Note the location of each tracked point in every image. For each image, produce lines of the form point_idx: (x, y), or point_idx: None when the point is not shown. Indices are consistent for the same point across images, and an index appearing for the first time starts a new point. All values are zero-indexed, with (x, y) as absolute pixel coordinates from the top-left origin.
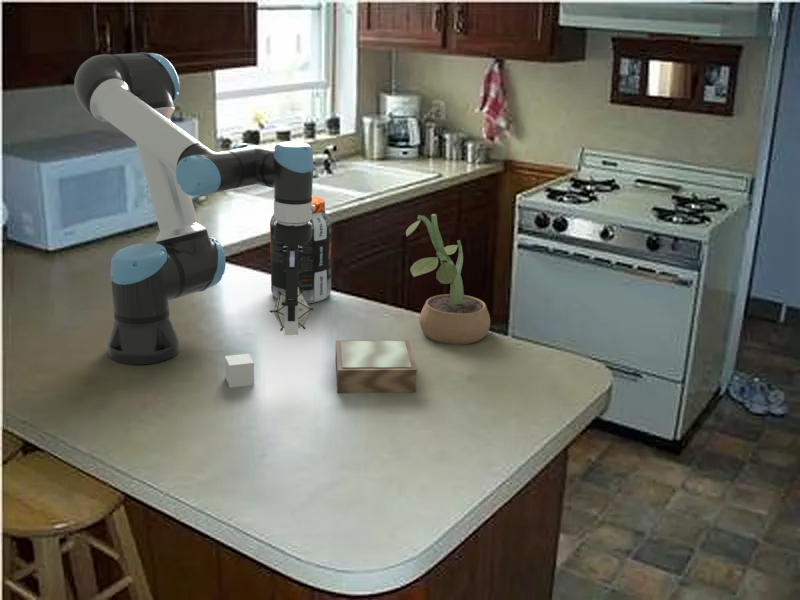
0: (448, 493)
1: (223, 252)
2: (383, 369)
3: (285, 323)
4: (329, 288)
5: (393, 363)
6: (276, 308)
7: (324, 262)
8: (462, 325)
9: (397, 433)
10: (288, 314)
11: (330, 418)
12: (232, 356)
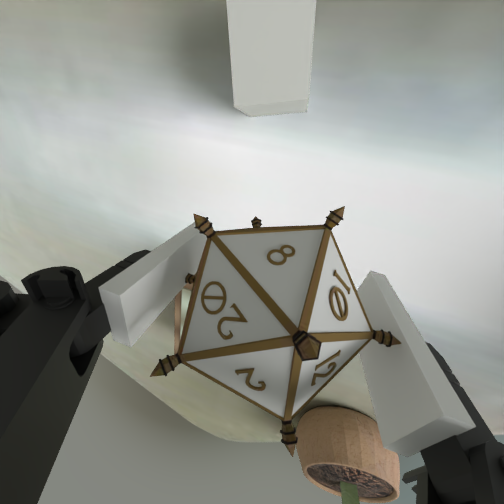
0: (12, 270)
1: None
2: (176, 329)
3: (174, 238)
4: None
5: None
6: (250, 243)
7: None
8: (299, 445)
9: None
10: (114, 268)
11: (121, 223)
12: (302, 20)
